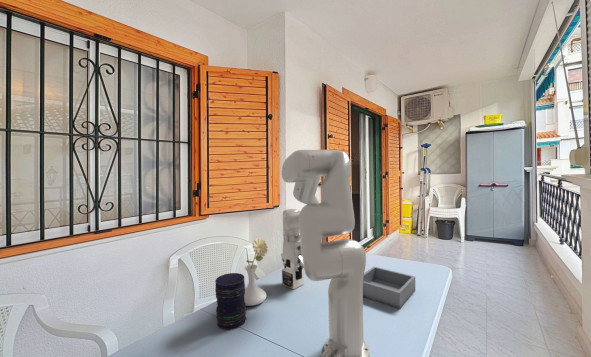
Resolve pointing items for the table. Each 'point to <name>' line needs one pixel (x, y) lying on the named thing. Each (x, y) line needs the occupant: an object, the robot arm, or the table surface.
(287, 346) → the table surface
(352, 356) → the robot arm
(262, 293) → the flower in vase
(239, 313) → the dark blue cylinder
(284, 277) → the medicine bottle
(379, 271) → the bin
